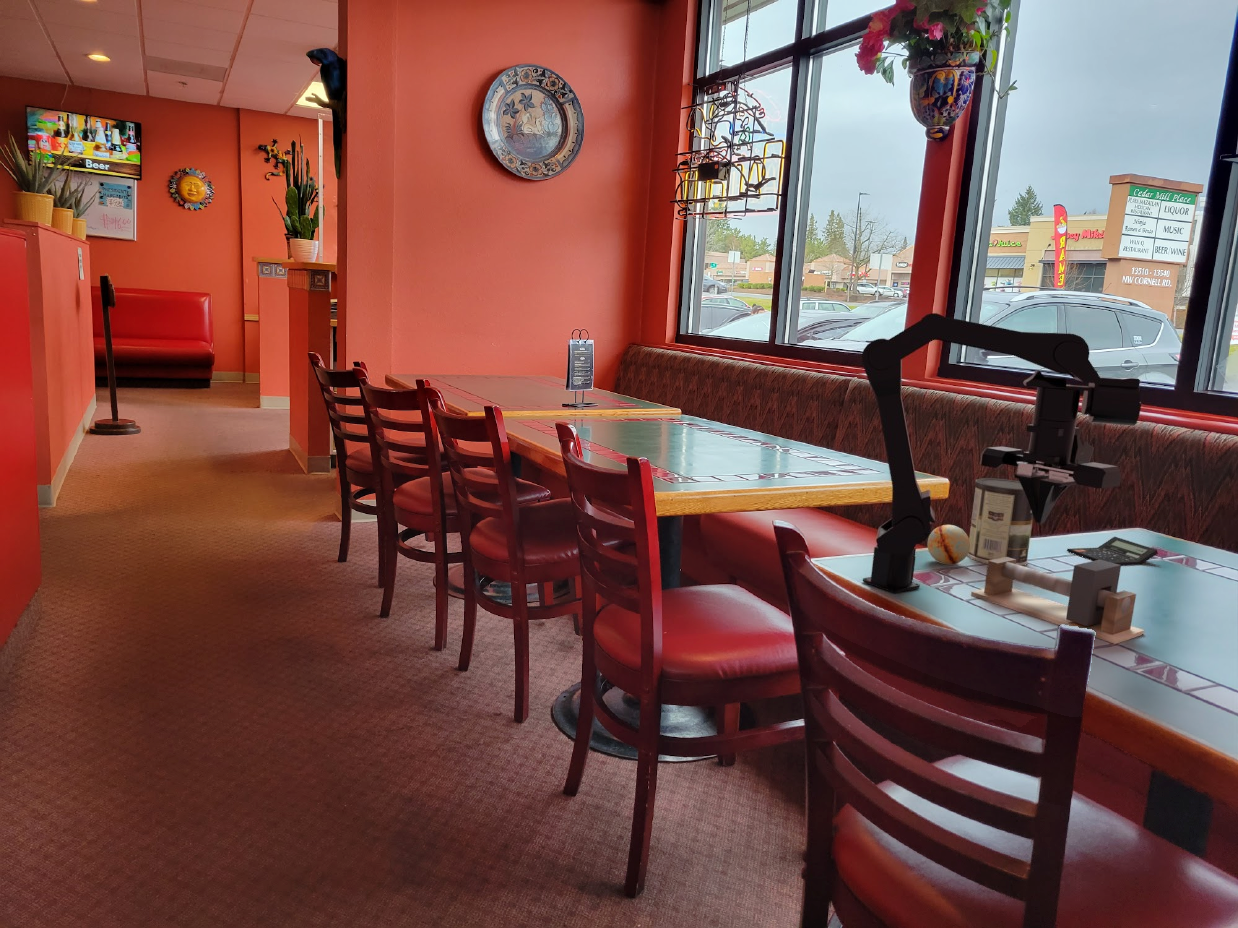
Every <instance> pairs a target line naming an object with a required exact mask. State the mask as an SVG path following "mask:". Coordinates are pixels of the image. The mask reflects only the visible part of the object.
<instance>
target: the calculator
mask: <svg viewBox="0 0 1238 928" xmlns="http://www.w3.org/2000/svg"><path fill="white" fill-rule="evenodd" d="M1067 551H1069V552H1068V553H1070V552H1071V553H1070V554H1072V553H1074V554H1073V555H1075V554H1076V555H1075V556H1078V555H1079V557H1081V556H1083V557H1082V558H1084V559H1086V558H1087V560H1089V559H1091V560H1090V561H1096V560H1104V561H1107V562H1111V563H1115V564H1119V565H1121V566H1133V565H1134V566H1135V565H1143V564H1144V563H1146V562H1148V561H1149V560H1151V559H1152V558H1153V557H1155V556H1157V555H1158V554H1159V552H1158V550H1157V549H1155V548H1152V547H1150V546H1147V545H1143V544H1139V543H1136V542H1133V541H1130V540H1127V539H1124V538H1120V537H1117V536H1113V537H1111V538H1110V539H1108V540H1107V541H1106V542H1104V543H1102V544H1101V545H1099V546H1098V547H1081V548H1074V547H1073V548H1067V550H1066V552H1067Z"/></svg>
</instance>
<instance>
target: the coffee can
mask: <svg viewBox="0 0 1238 928" xmlns="http://www.w3.org/2000/svg"><path fill="white" fill-rule="evenodd" d="M974 484H975V490H974V497H973V507H972V514H971V521H970V530H969V536H968V538H969V541H970V550H969V553H968V555H967V556H966V557H968V558H969V559H971V558H972V559H971V560H974V561H976V562H980V563H984V564H987V565H988V561H989V560H994V559H999V558H1004V557H1009V558H1013V559H1016V564H1017V565H1020V566H1024V567H1025V566H1026V565H1027V564H1028V555H1029V548H1030V543H1031V542H1030V541H1031V534H1032V528H1033V520H1034V517H1033V514H1032V511H1031V508H1030V505H1029V502H1028V499H1027V497H1026V494H1025V492H1024V490H1023V488H1022V486H1021V484H1020V481H1019V480H1014V479H1005V478H995V477H994V478H992V477H991V478H989V477H983V478H978V479H975V483H974ZM1025 564H1026V565H1025Z"/></svg>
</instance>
